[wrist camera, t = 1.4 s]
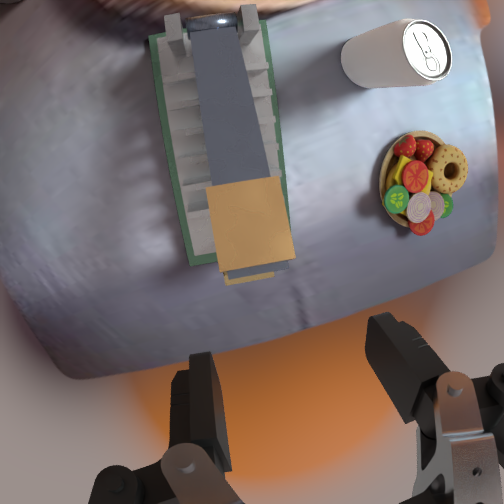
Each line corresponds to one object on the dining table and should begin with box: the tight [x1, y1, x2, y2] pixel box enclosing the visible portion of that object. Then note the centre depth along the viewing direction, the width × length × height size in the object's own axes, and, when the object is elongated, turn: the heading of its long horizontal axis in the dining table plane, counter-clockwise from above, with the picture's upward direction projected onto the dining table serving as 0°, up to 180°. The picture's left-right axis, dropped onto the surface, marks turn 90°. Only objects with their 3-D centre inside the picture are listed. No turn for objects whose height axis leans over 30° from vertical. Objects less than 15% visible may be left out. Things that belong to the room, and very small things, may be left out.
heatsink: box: [149, 4, 291, 286], centre depth 28 cm, size 26×12×9 cm, turn 8°
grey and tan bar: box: [185, 12, 296, 280], centre depth 20 cm, size 21×4×2 cm, turn 7°
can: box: [341, 19, 452, 88], centre depth 24 cm, size 6×6×12 cm
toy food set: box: [379, 131, 468, 236], centre depth 36 cm, size 13×13×3 cm
